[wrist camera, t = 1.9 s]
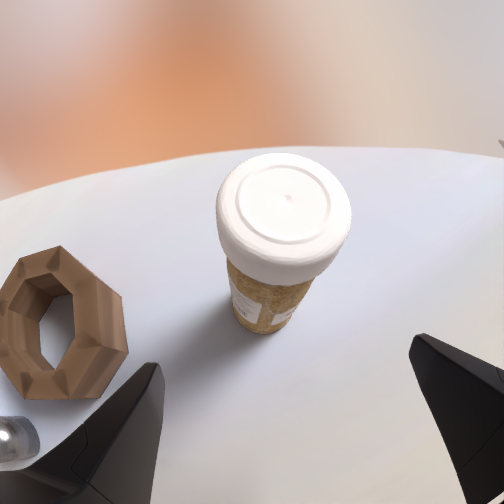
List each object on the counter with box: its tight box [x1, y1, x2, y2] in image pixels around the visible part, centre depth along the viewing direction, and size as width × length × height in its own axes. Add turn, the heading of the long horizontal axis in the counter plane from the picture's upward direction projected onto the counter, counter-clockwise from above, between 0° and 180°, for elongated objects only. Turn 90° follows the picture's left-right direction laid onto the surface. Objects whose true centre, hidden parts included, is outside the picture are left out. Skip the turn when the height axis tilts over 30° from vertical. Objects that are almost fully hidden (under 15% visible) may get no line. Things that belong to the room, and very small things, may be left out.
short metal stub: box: [0, 416, 40, 463], centre depth 13 cm, size 4×4×5 cm
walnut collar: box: [0, 246, 129, 400], centre depth 17 cm, size 11×11×4 cm
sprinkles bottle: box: [216, 153, 351, 334], centre depth 15 cm, size 5×5×13 cm
